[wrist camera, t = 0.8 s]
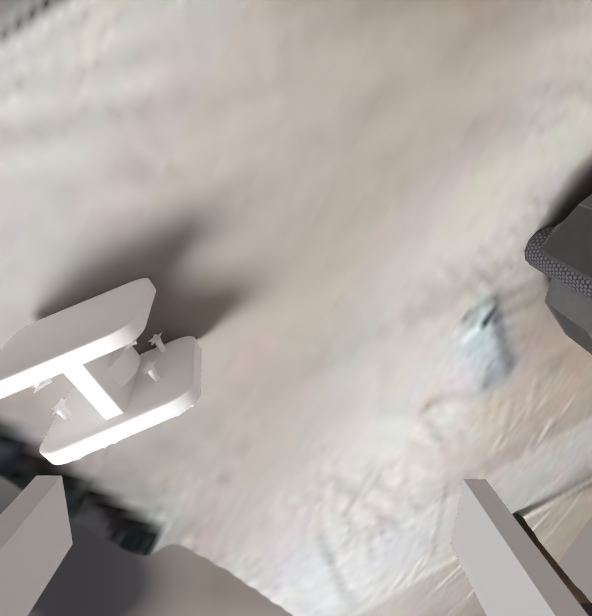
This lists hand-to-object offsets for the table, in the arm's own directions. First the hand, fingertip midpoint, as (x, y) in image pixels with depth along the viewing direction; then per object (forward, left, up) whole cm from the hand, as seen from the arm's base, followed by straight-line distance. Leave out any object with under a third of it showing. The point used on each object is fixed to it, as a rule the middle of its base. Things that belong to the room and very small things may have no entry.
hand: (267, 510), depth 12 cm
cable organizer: (+3, -15, -30) cm, 33 cm away
